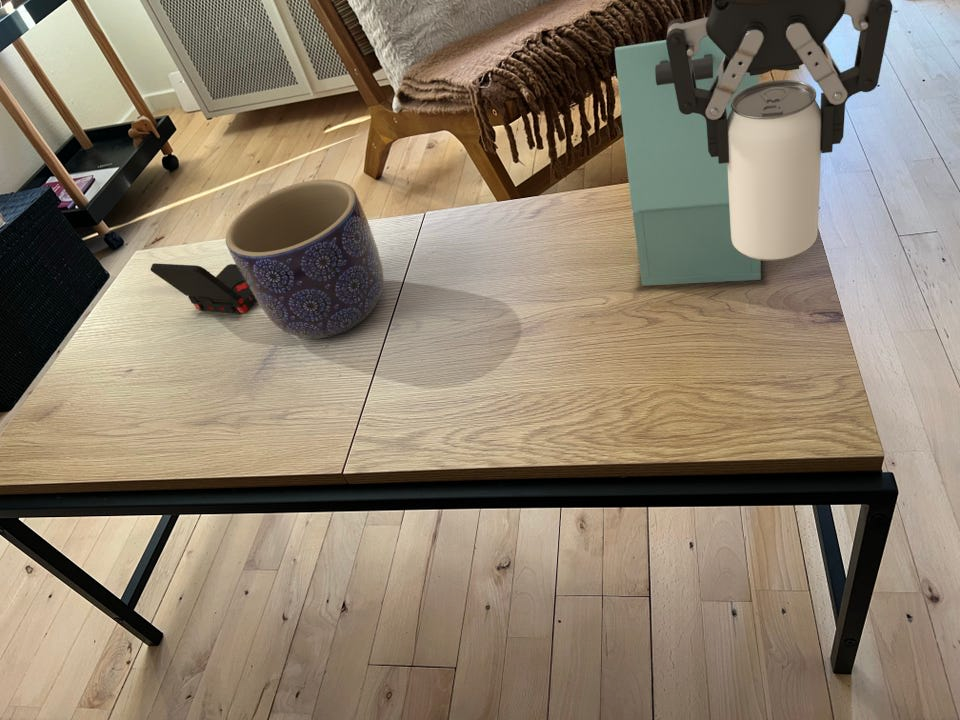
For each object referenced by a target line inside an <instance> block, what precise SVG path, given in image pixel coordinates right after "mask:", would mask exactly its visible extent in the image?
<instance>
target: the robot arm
mask: <svg viewBox="0 0 960 720" xmlns="http://www.w3.org/2000/svg"><path fill="white" fill-rule="evenodd" d="M892 12H893V3H892V0H712V1H711V6H710V8H709V9H708V13H707V15H706V16H705V17H702V18H699V19H695V20H690V21H686V22H685V21H684V20H683V19H681V18H675V19H672V20H671V21H670V22H669V23H668V26H667V32H666V39H665V40H666V45H667V50H668V55H669V60H670V65H671V71H672V76H673V81H674V86H675V91H676V96H677V101H678V106H679V110H680V112H681V113H683V114H686V115H688V114H691V113H697V114H701V115H702V116H704V117H705V119H706V124H707V139H708V152H709V154H710V156H711V157H718V161H719V164H722V163H728V143H727V105H728V103H729V101H730V99H731V97H732V95H733V94H734V93H735V92H736V90H737V89H738V87H739V85H740V83H741V81H742V79H743V77H744V75H745V73H746V72H747V73H750V76H753V75H759V76H760V75H764V74H766V73H769V72H772V71H774V70H775V71H785V72H787V71H794V70H800V67H801V66H803V65H804V66H805V68H806V70H807V71H808V73H809V75H810V76H811V77H812V79H813V80H814V82H815V83H816V84H817V85H818V86H819V88H820V89H821V91H822V92H820V110H821V114H822V135H821V154H828V153H833V148H834V147H833V146H834V145H838V144H841V142H842V141H843V138H844V132H845V129H844V128H845V115H846V114H845V113H846V104H847V101H848V100H849V99H850V98H851V97H852V96H853V95H856V94H858V93H861V92H862V93H870V92H872V91H874V90H875V89H876V88H877V86H878V84H879V78H880V75H881V69H882V63H883V59H884V54H885V49H886V43H887V37H888V32H889V28H890V23H891V18H892ZM844 15H846V16H849V17H850V18H851V19H850V20H851V24H852V26H853V28H854V30H855V31H857V32H859V36H858V42H857V49H856V54H855V60H854V65H853V67H850V68H848V69H845V70H843V71H841V70H840V68H839V67H838V65H837V63H836V62H835V60H834V58H833V57H832V54H831V52H830V50H829V48H828V47H827V45H826V43H825V41H826V39H827V38H828V37H829V35H830V34H831V32H832V31H833V30H834V29H835V27H836V26H837V24H839V22H840V21H841V20H842V18H843V16H844ZM706 36H709V38H710V39H711V40H712V41H713V42H714V43H715V44H716V45H717V47H718V48H719V49H720V50H721V51H722V52H723V53H724V54H725V55H724V57H723V59H722V61H721V64H720V66H719V69H718V72H717V74H716V77H715V79H714V81H713V83H712V85H711V87H710V89H709V90H705V89H699V88H697V86H696V80H695V75H694V69H693V63H692V58H691V57H693V56H695V55H696V54H697V53H698V52H699V48H700V42H701V40H702V39H703V38H704V37H706Z"/></svg>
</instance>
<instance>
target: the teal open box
mask: <svg viewBox="0 0 960 720" xmlns="http://www.w3.org/2000/svg"><path fill="white" fill-rule="evenodd" d="M632 219H633V226H634V234H635V241H636V251H637V257H638V265H639V273H640V280H641V287H646V286H647V287H648V286H650V287H651V286H666V285H668V286H669V285H686V284H705V283H706V284H707V283H723V282H724V283H725V282H726V283H727V282H743V281H759V280H762V261H760V260H755V259H752V258H749V257H747V256H745V255H743V254H742V253H741V252H740V251H738V250H737V249H736V248H735V247H734V245H733V243H732V240H731V227H730V208H729V203H718V204H706V205H694V206H682V207H670V208H658V209H647V210H635V211H632Z"/></svg>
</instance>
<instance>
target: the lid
mask: <svg viewBox="0 0 960 720" xmlns="http://www.w3.org/2000/svg"><path fill="white" fill-rule="evenodd" d="M724 55H725V54H724V53H723V52H722V51H721V50H720V49H719V48H718V47H717V45H716V44H715V43H714V42H713V41H712V40H711V39H710V38H709V36H706V37H704V38H703V39H702V40H701V42H700V48H699V52H698V53H697V54H696V55H695V56H693V57H691V58H692V63H693V69H694V75H695V80H696V86H697V88H699V89H705V90H709V89H710V87H711V85H712V83H713V81H714V79H715V77H716V74H717V72H718V69H719V66H720V64H721V61H722V59H723V57H724ZM614 58H615V66H616V67H615V68H616V77H617V85H618V94H619V103H620V104H619V105H620V113H621V114H620V115H621V122H622V131H623V140H624V142H623V143H624V149H625V160H626V169H627V179H628V187H629V188H628V189H629V197H630V206H631V207H630V208H631V211H632V212H633V211H635V210H647V209H658V208H670V207H682V206H694V205H706V204H718V203H729V188H728V167H727V163H722V164H719V161H718V157H711V156H710V154H709V152H708V139H707V124H706V119H705V117H704V116H702V115H701V114H697V113H691V114H688V115H686V114H683V113H681V112H680V110H679V106H678V101H677V96H676V91H675V86H674V81H673V76H672V71H671V65H670V60H669V55H668V50H667V45H666V39H664V40H656V41H649V42H643V43H637V44H631V45H623V46H617V47H616V46H615V48H614ZM759 83H760V75H753V76H750V73H747V72H746V73H745V75H744V77H743V79H742V81H741V83H740V85H739V87H738V89H737V90H736V92H735V93H734V94H733V95H732V97H731V99H730V101H729V103H728V105H727V119H728V116H729V114H730V112H731V110H732V108H731V101H732V99H733V97H734V96H735V95H736V94H737V93H739V92H740V91H742V90H743V89H745V88H747V87H750V86H752V85H755V84H759Z"/></svg>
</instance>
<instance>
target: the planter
mask: <svg viewBox="0 0 960 720" xmlns="http://www.w3.org/2000/svg"><path fill="white" fill-rule="evenodd" d="M225 244H226V247H227V249H228V251H229V254H230V256H231V258H232V260H233V261H234V263H235V264H236V265H237V267H238V269H239V271H240V273H241V275H242V277H243V279H244V280H245V282H246V284H247V285H248V287H249V289H250V291H251V292H252V294H253V296H254V298H255V299H256V302H257V304H258V306H259V307H260V308H261V310H262V311H263V312H264V314H265V315H266V317H267V318H268V320H269V321H270V322H271V323H273V324H274V325H275V326H276V327H277V328H278V329H280V330H281V331H283V332H285V333H286V334H289V335H292V336H295V337H299V338H304V339H311V340H312V339H314V340H315V339H325V338H329V337H334V336H337V335H340V334H343V333H345V332H347V331H349V330H351V329H353V328H354V327H356V326H357V325H359V324H361V322H362V321H364V320H365V319H366V318H367V317H368V316H369V315H370V314H371V313H372V311H373V310H374V309H375V307H376V305H377V304H378V302H379V300H380V299H381V298H380V297H381V295H382V292H383V288H384V283H385V276H384V267H383V264H382V263H383V262H382V259H381V256H380V253H379V248H378V245H377V242H376V240H375V237H374V234H373V232H372V229H371V226H370V223H369V220H368V219H367V215H366V213H365V211H364V208H363V206H362V203H361V201H360V198H359V196H358V195H357V192H356V190H355V189H354V188H353V186H351V185H350V184H348V183H346V182H344V181H342V180H341V181H340V180H336V179H313V180H307V181H306V180H305V181H302V182H298V183H297V182H296V183H294V184H291V185H288V186H285V187H282V188H280V189H279V188H278V190H274V191H273V192H270V193H268V194H266V195H264V196H263V197H261V198H259V199H257V200H256V201H254V202H252V203H251V204H250V205H249V206H247V207H245V209H243V211H241V212H240V213H239V214H238V215H237V216H236V217H235V218H234V219H233V220H232V222H231V224H230V225H229V227H228V229H227V231H226V233H225Z"/></svg>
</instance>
